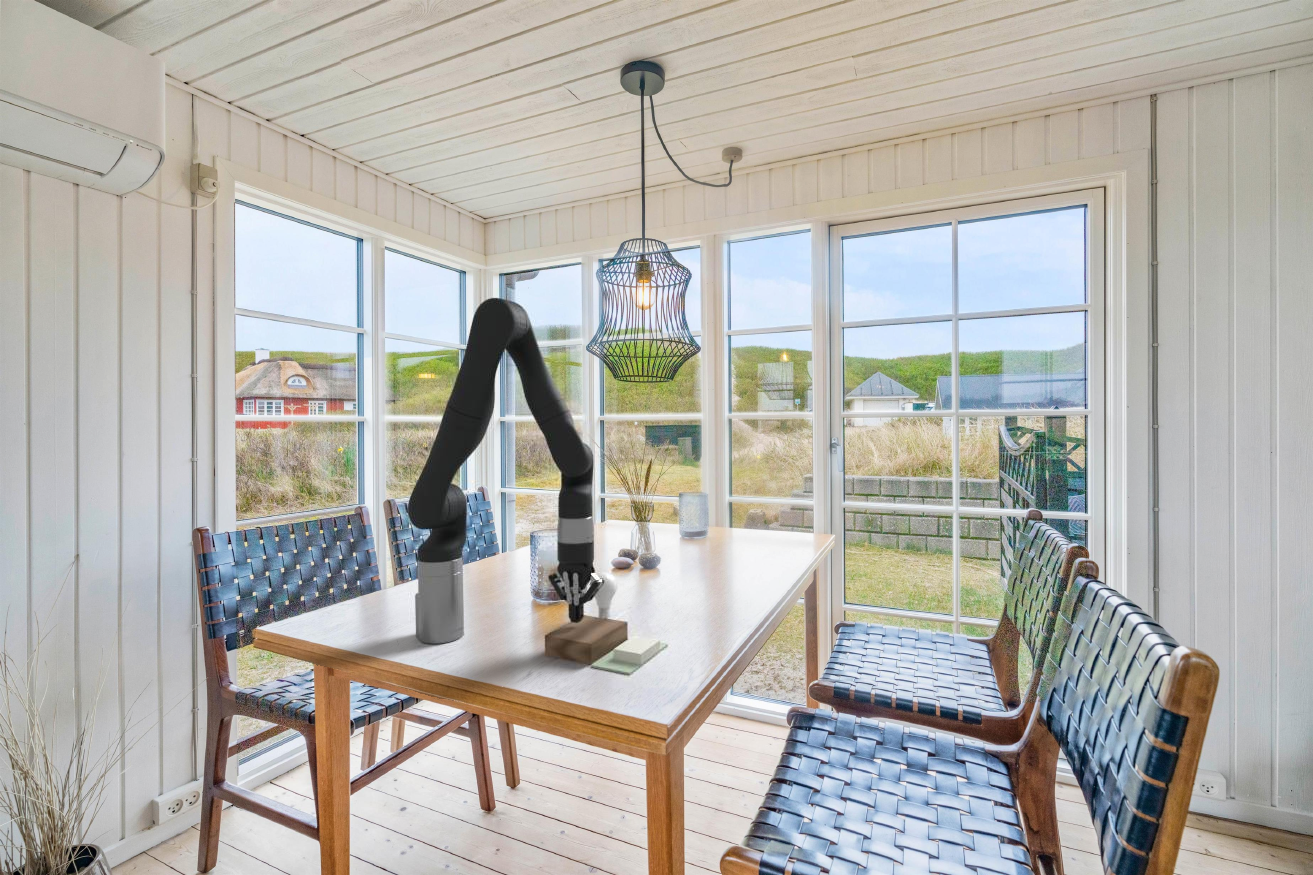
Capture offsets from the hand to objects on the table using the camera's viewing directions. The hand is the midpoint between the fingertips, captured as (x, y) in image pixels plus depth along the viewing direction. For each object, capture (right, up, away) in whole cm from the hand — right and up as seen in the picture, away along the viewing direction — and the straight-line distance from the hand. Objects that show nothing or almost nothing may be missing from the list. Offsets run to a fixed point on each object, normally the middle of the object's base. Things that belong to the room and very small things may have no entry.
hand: (576, 621), depth 125 cm
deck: (+2, -5, -1) cm, 6 cm away
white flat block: (+13, -3, -6) cm, 14 cm away
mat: (+12, -5, -6) cm, 14 cm away
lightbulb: (+4, -5, +17) cm, 18 cm away
